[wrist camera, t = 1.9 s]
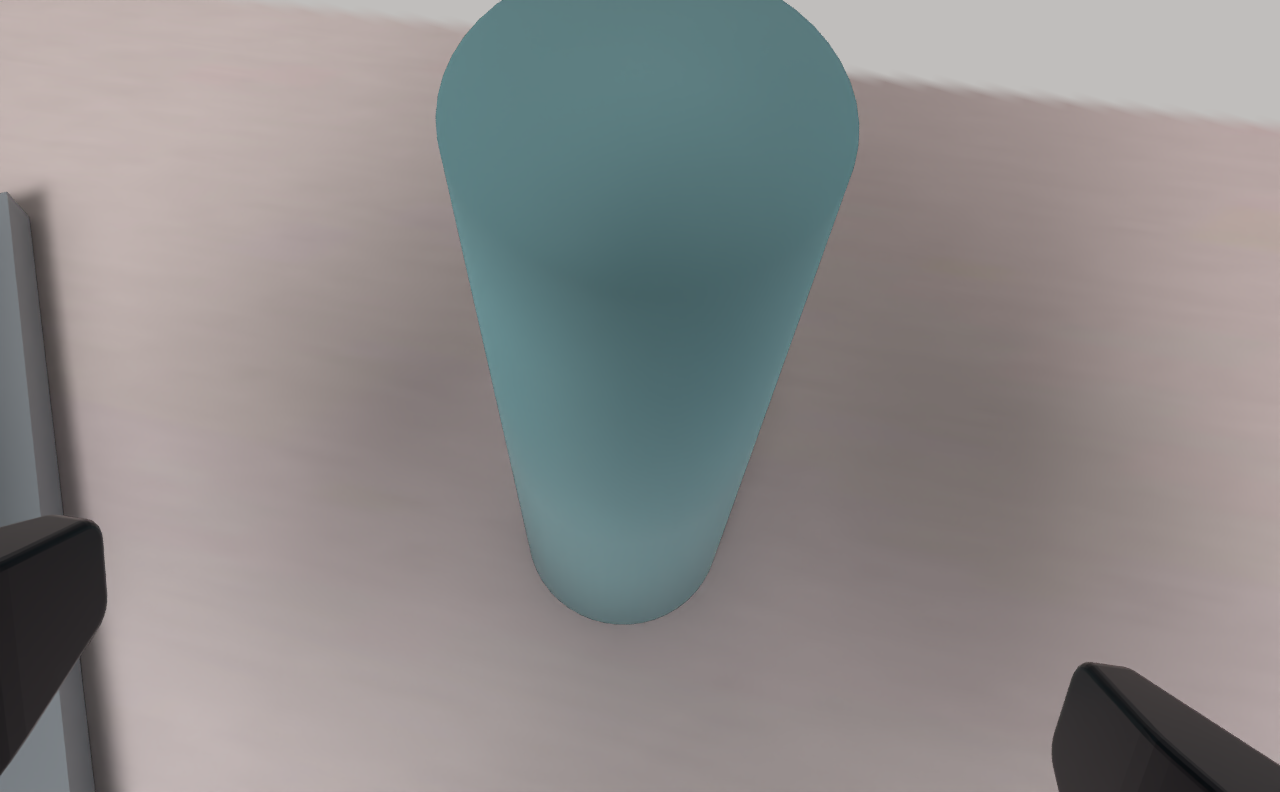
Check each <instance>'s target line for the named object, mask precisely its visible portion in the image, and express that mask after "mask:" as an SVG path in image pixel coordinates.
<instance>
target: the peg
mask: <svg viewBox="0 0 1280 792" xmlns="http://www.w3.org/2000/svg"><path fill="white" fill-rule="evenodd" d="M436 129H437V141H438V145H439V149H440V154H441V158H442V163H443V167H444V172H445V176H446V180H447V185H448V189H449V194H450V198H451V202H452V207H453V211H454V216H455V220H456V224H457V229H458V233H459V238H460V242H461V247H462V251H463V255H464V260H465V264H466V269H467V273H468V277H469V282H470V286H471V291H472V295H473V299H474V304H475V308H476V313H477V317H478V322H479V326H480V330H481V335H482V339H483V344H484V348H485V352H486V357H487V361H488V366H489V370H490V374H491V379H492V383H493V388H494V392H495V396H496V401H497V405H498V410H499V414H500V419H501V423H502V427H503V432H504V436H505V441H506V445H507V449H508V454H509V458H510V463H511V467H512V471H513V476H514V480H515V485H516V489H517V494H518V498H519V502H520V507H521V511H522V516H523V520H524V524H525V529H526V533H527V538H528V542H529V546H530V551H531V555H532V559H533V562H534V564H535V567H536V570H537V572H538V574H539V575H540V577H541V579H542V581H543V582H544V584H545V585H546V586H547V588H548V589H549V590H550V592H551V593H552V594H553V595H554V596H555V597H556V598H557V599H558V600H559V601H560V602H562V603H563V604H564V605H566V606H567V607H568V608H570V609H571V610H573V611H575V612H577V613H578V614H580V615H582V616H585V617H587V618H590V619H592V620H596V621H600V622H603V623H610V624H636V623H643V622H647V621H650V620H654V619H657V618H659V617H662V616H664V615H666V614H668V613H670V612H672V611H673V610H675V609H677V608H678V607H679V606H681V605H682V604H683V603H685V602H686V601H687V600H688V599H689V598H690V597H691V596H692V595H693V594H694V593H695V592H696V591H697V589H698V588H699V587H700V585H701V584H702V583H703V581H704V579H705V577H706V576H707V574H708V572H709V570H710V567H711V565H712V562H713V559H714V557H715V554H716V551H717V548H718V545H719V543H720V540H721V537H722V534H723V531H724V529H725V526H726V523H727V520H728V517H729V515H730V512H731V509H732V506H733V503H734V501H735V498H736V495H737V492H738V489H739V487H740V484H741V481H742V478H743V476H744V473H745V470H746V467H747V464H748V462H749V459H750V456H751V453H752V450H753V448H754V445H755V442H756V439H757V436H758V434H759V431H760V428H761V425H762V422H763V420H764V417H765V414H766V411H767V408H768V406H769V403H770V400H771V397H772V395H773V392H774V389H775V386H776V383H777V381H778V378H779V375H780V372H781V369H782V367H783V364H784V361H785V358H786V355H787V353H788V350H789V347H790V344H791V341H792V339H793V336H794V333H795V330H796V327H797V325H798V322H799V319H800V316H801V314H802V311H803V308H804V305H805V302H806V300H807V297H808V294H809V291H810V288H811V286H812V283H813V280H814V277H815V274H816V272H817V269H818V266H819V263H820V260H821V258H822V255H823V252H824V249H825V246H826V244H827V241H828V238H829V235H830V233H831V230H832V227H833V224H834V221H835V219H836V216H837V213H838V210H839V207H840V205H841V202H842V199H843V196H844V193H845V191H846V188H847V185H848V182H849V179H850V177H851V174H852V171H853V168H854V164H855V159H856V155H857V150H858V142H859V119H858V111H857V104H856V100H855V96H854V93H853V89H852V86H851V83H850V80H849V78H848V76H847V74H846V72H845V70H844V67H843V65H842V63H841V61H840V60H839V58H838V57H837V55H836V54H835V52H834V51H833V49H832V48H831V46H830V45H829V43H828V42H827V41H826V40H825V38H824V37H823V36H822V35H821V34H820V33H819V32H818V31H817V29H816V28H815V27H814V26H813V25H812V24H811V23H810V22H809V21H808V20H807V19H805V18H804V17H803V16H802V15H801V14H800V13H799V12H798V11H797V10H795V9H794V8H792V7H791V6H790V5H788V4H787V3H785V2H784V1H783V0H502V1H501V2H499V3H497V4H496V5H495V6H494V7H493V8H492V9H490V10H489V11H488V12H487V13H486V14H485V15H484V16H482V17H481V18H480V19H479V20H478V21H477V22H476V24H475V25H474V26H473V27H472V28H471V29H470V30H469V32H468V33H467V34H466V35H465V36H464V38H463V39H462V41H461V42H460V44H459V45H458V47H457V49H456V50H455V52H454V53H453V55H452V57H451V59H450V61H449V63H448V66H447V68H446V70H445V72H444V75H443V78H442V82H441V86H440V89H439V93H438V99H437V109H436Z"/></svg>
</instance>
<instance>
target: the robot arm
mask: <svg viewBox="0 0 1280 792" xmlns="http://www.w3.org/2000/svg"><path fill="white" fill-rule="evenodd" d="M106 606H107V587H106V573H105V560H104V546H103V537H102V532H101V530H100V528H99V526H98V525H97V524H96V523H95V522H94V521H92V520H88V519H83V518H76V517H69V516H62V515H45V516H41V517H37V518H33V519H30V520H26V521H22V522H18V523H14V524H10V525H6V526H2V527H0V776H1V774H2V773H3V772H4V770H5V769H6V768H7V767H8V765H9V764H10V763H11V761H12V760H13V758H14V757H15V755H16V754H17V752H18V751H19V750H20V748H21V747H22V745H23V744H24V742H25V741H26V739H27V738H28V736H29V735H30V733H31V732H32V730H33V729H34V727H35V726H36V724H37V722H38V721H39V719H40V718H41V716H42V715H43V713H44V712H45V710H46V709H47V707H48V705H49V704H50V702H51V701H52V699H53V698H54V696H55V695H56V693H57V691H58V690H59V688H60V687H61V685H62V684H63V682H64V681H65V679H66V678H67V676H68V674H69V673H70V671H71V670H72V668H73V667H74V665H75V664H76V662H77V660H78V659H79V657H80V656H81V654H82V653H83V651H84V650H85V648H86V647H87V645H88V643H89V642H90V640H91V639H92V637H93V636H94V634H95V633H96V631H97V629H98V628H99V626H100V624H101V622H102V620H103V617H104V614H105V611H106ZM1052 762H1053V768H1054V772H1055V777H1056V781H1057V785H1058V790H1059V792H1280V765H1279V764H1277V763H1276V762H1274V761H1272V760H1271V759H1269V758H1268V757H1266V756H1265V755H1263V754H1262V753H1260V752H1259V751H1257V750H1255V749H1254V748H1252V747H1251V746H1249V745H1248V744H1246V743H1245V742H1243V741H1242V740H1240V739H1238V738H1237V737H1235V736H1234V735H1232V734H1231V733H1229V732H1228V731H1226V730H1225V729H1223V728H1221V727H1220V726H1218V725H1217V724H1215V723H1214V722H1212V721H1211V720H1209V719H1208V718H1206V717H1204V716H1203V715H1201V714H1200V713H1198V712H1197V711H1195V710H1194V709H1192V708H1191V707H1189V706H1187V705H1186V704H1184V703H1183V702H1181V701H1180V700H1178V699H1177V698H1175V697H1174V696H1172V695H1170V694H1169V693H1167V692H1166V691H1164V690H1163V689H1161V688H1160V687H1158V686H1157V685H1155V684H1153V683H1152V682H1150V681H1149V680H1147V679H1146V678H1144V677H1143V676H1141V675H1140V674H1138V673H1136V672H1135V671H1133V670H1131V669H1129V668H1126V667H1122V666H1114V665H1107V664H1100V663H1093V662H1085V663H1083V664H1082V665H1080V666H1078V668H1077V669H1076V671H1075V672H1074V674H1073V676H1072V679H1071V682H1070V685H1069V688H1068V692H1067V695H1066V698H1065V701H1064V704H1063V707H1062V710H1061V714H1060V717H1059V720H1058V723H1057V726H1056V729H1055V732H1054V736H1053V742H1052Z"/></svg>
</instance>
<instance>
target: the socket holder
mask: <svg viewBox="0 0 1280 792" xmlns="http://www.w3.org/2000/svg"><path fill="white" fill-rule="evenodd" d="M45 515H62V516H63V507H62V499H61V490H60V481H59V472H58V464H57V455H56V446H55V437H54V429H53V420H52V411H51V403H50V394H49V385H48V376H47V368H46V359H45V350H44V341H43V333H42V324H41V315H40V306H39V298H38V289H37V280H36V271H35V263H34V254H33V245H32V236H31V228H30V219H29V216H28V215H27V214H26V213H25V212H24V211H23V209H22V208H21V207H20V206H19V205H18V204H17V203H16V202H15V200H14V199H13V198H12V197H11V196H10V195H9V194H8V192H4V193H0V527H2V526H6V525H10V524H14V523H18V522H22V521H26V520H30V519H33V518H37V517H41V516H45ZM0 792H95V787H94V778H93V770H92V761H91V752H90V743H89V735H88V726H87V717H86V708H85V700H84V691H83V682H82V674H81V665H80V657H79V659H78V660H77V662H76V664H75V665H74V667H73V668H72V670H71V671H70V673H69V674H68V676H67V678H66V679H65V681H64V682H63V684H62V685H61V687H60V688H59V690H58V691H57V693H56V695H55V696H54V698H53V699H52V701H51V702H50V704H49V705H48V707H47V709H46V710H45V712H44V713H43V715H42V716H41V718H40V719H39V721H38V722H37V724H36V726H35V727H34V729H33V730H32V732H31V733H30V735H29V736H28V738H27V739H26V741H25V742H24V744H23V745H22V747H21V748H20V750H19V751H18V752H17V754H16V755H15V757H14V758H13V760H12V761H11V763H10V764H9V765H8V767H7V768H6V769H5V770H4V772H3V773H2V774H1V776H0Z"/></svg>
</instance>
